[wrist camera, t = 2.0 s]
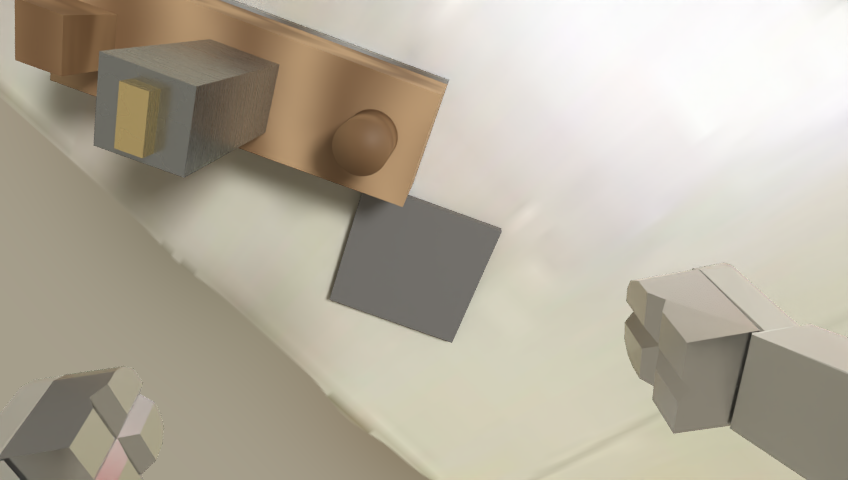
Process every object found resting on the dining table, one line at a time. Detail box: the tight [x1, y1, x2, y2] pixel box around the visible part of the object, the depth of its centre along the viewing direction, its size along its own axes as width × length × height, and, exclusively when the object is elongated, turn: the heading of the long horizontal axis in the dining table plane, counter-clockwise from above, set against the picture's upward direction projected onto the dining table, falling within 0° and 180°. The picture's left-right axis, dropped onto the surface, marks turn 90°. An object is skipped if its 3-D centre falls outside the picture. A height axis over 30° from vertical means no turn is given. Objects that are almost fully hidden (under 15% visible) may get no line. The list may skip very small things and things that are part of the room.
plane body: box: [15, 0, 449, 207], centre depth 30 cm, size 22×7×9 cm, turn 71°
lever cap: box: [94, 39, 279, 177], centre depth 25 cm, size 4×4×10 cm
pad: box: [329, 193, 501, 343], centre depth 38 cm, size 10×10×1 cm
